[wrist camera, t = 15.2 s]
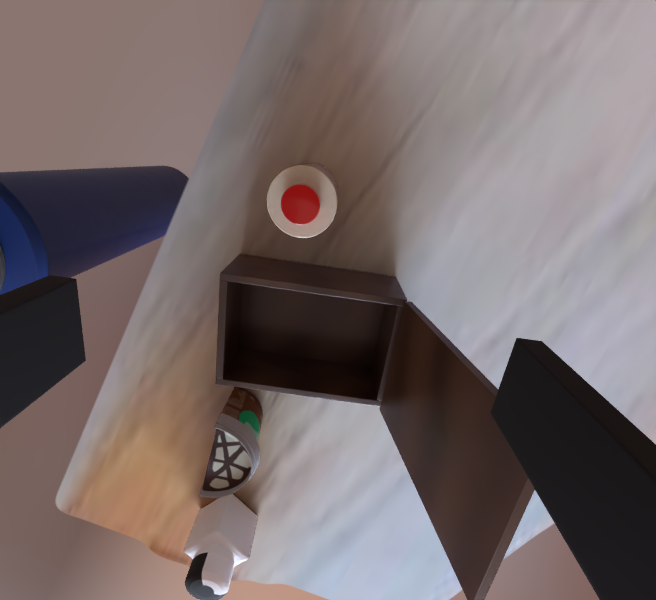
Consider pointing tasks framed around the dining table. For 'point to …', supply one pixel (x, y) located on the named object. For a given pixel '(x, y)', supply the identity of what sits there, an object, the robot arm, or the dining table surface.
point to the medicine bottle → (218, 546)
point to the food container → (234, 446)
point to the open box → (306, 329)
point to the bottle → (303, 200)
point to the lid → (454, 450)
